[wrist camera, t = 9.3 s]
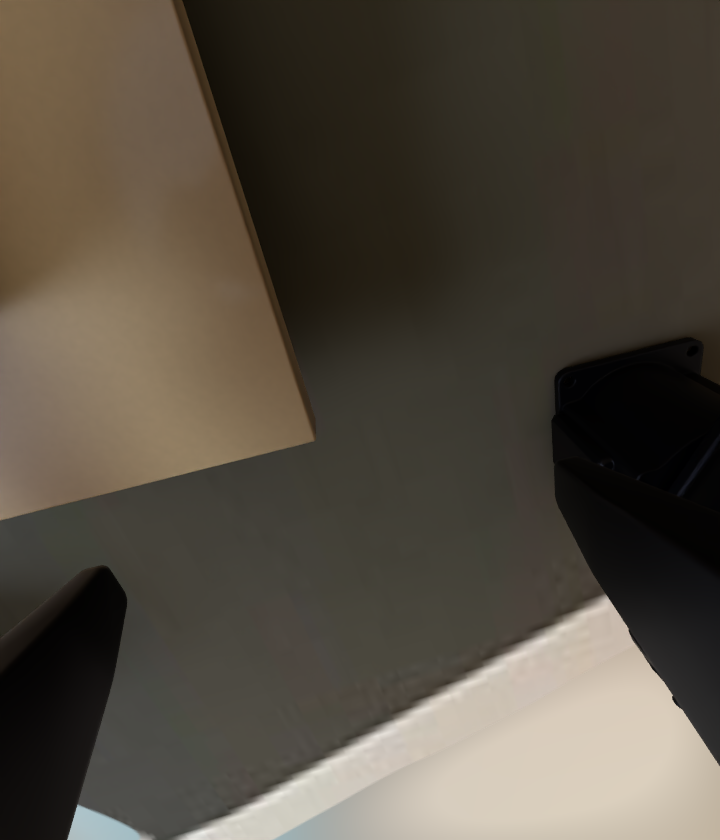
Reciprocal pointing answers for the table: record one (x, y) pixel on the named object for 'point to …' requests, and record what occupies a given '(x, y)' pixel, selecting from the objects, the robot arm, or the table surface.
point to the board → (126, 263)
